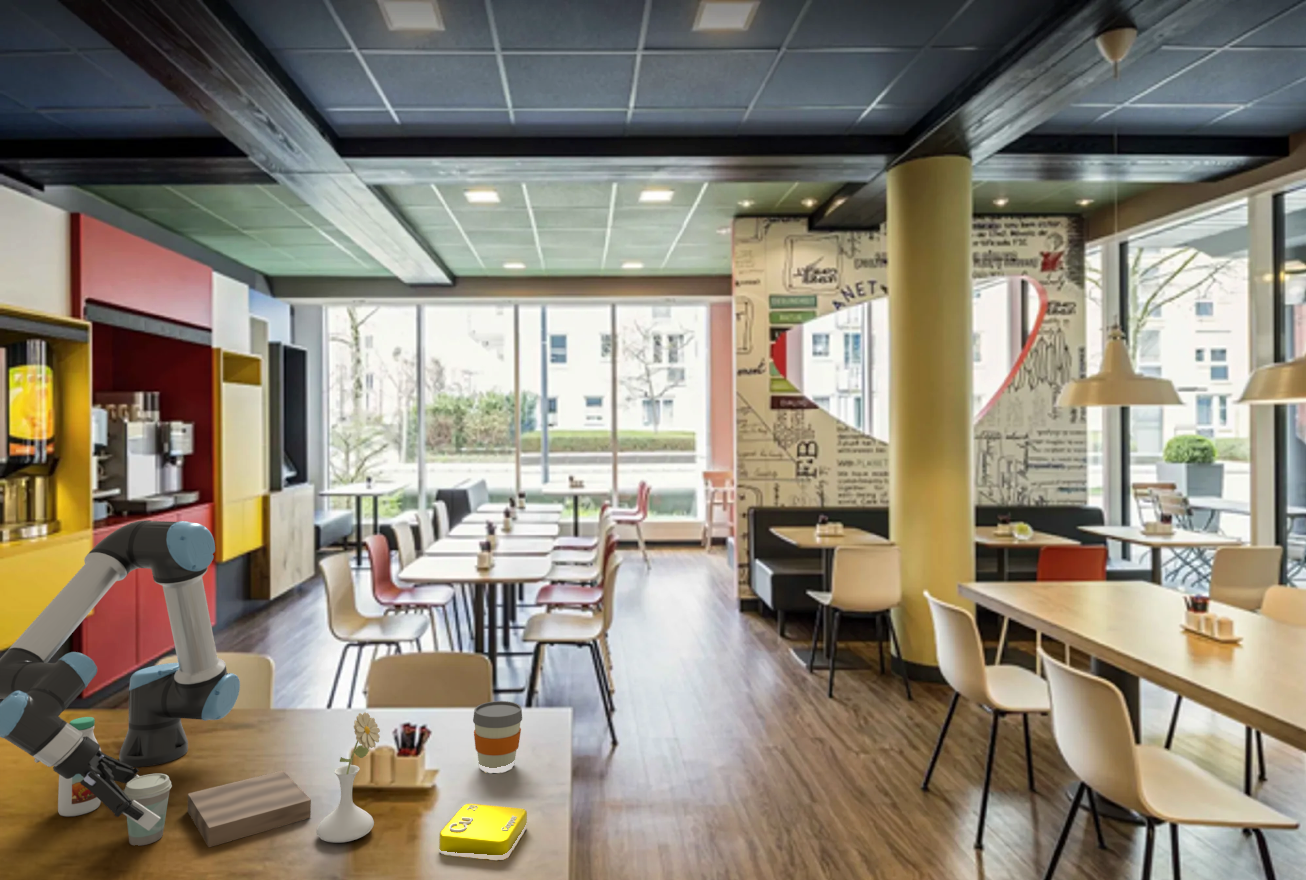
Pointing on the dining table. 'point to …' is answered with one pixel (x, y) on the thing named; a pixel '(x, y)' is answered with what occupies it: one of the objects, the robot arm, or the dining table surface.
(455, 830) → the element tile
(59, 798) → the milk bottle
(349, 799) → the flower in vase
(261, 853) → the dining table surface
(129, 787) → the coffee cup
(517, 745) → the reusable coffee cup
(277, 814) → the walnut base
